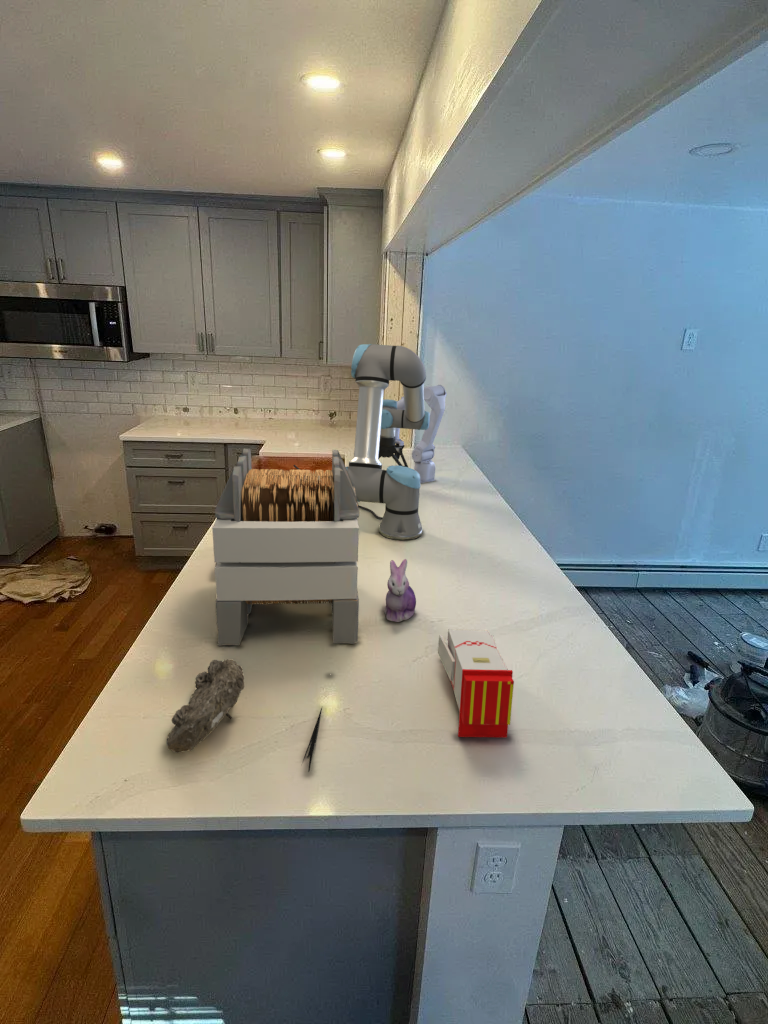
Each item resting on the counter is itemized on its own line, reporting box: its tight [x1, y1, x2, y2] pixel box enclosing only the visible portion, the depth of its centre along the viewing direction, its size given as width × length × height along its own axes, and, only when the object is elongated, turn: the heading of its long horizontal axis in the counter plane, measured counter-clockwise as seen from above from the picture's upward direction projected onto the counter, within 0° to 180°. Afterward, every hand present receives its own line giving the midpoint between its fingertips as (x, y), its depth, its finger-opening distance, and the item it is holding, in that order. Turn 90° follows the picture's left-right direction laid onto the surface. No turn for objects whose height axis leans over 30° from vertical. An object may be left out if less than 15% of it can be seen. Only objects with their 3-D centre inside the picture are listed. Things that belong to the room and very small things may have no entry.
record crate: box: [212, 448, 360, 647], centre depth 140 cm, size 34×33×41 cm
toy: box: [437, 628, 515, 738], centre depth 117 cm, size 12×13×30 cm
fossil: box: [166, 658, 245, 754], centre depth 106 cm, size 22×10×15 cm
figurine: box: [384, 558, 417, 623], centre depth 145 cm, size 9×10×15 cm
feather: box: [301, 673, 332, 771], centre depth 108 cm, size 2×28×2 cm
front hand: (384, 483), depth 252 cm, fingers open, 12 cm apart
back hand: (392, 457), depth 274 cm, fingers open, 7 cm apart
